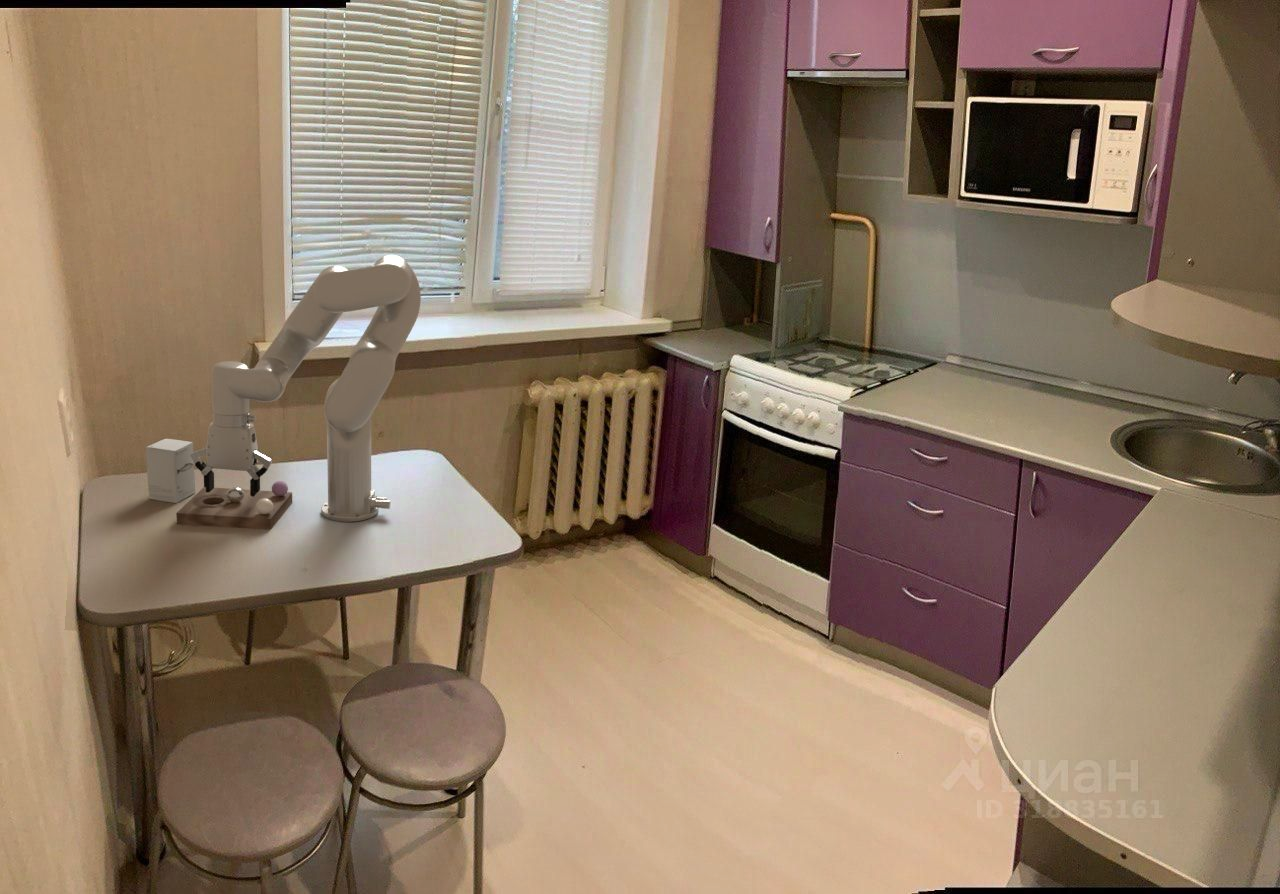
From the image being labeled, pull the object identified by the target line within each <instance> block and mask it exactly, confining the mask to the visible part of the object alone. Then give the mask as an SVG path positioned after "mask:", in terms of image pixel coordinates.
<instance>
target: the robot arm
mask: <svg viewBox="0 0 1280 894" xmlns="http://www.w3.org/2000/svg"><path fill="white" fill-rule="evenodd" d="M421 296H422V295H421V288H420V283H419V280H418V277H417V275H416V273H415V271H414V270H413V268H412V267H411V265H410V264H409V263H408V262H407V261H406V260H405V259H404V258H402V257H401V256H399V255H395V254H387V255H383V256H381V257H380V258H378V259H377V260H376V261H375V263H374V264H373V265H370V266H369V265H368V266H366V267H359V268H354V269H347V268H346V267H345V266H340V265H331V266H328V267H326V268H325V269H323V270H322V271H321V272H319V274H318V275H317V277H316V278H315V279H314V281H313V283H311V285H310V287H309V288H308V289H307V291H306V292H305V294H304V295H303V296H302V298H301V300H300V301H299V302H298V304H296V306H295V307H294V309H293V310H292V312H291V313H290V314H289V316H288V317H287V319H286V320H285V322H284V324H283V326H282V328H281V329H280V331H279V332H278V334H277V336H276V337H275V338H274V339H273V341H272V342H271V344H270V346H268V348H267V349H266V351H265V352H264V353H263V355H262V356H261V357H260V359H259V360H258V361H257V363H256V365H255V366H254V367H253V368H249V367H248V365H247V364H245V363H244V362H243V363H242V362H240V361H233V360H231V361H220V362H217V363H215V364H214V365H213V366H212V368H211V396H212V397H211V399H212V400H211V401H212V402H211V403H212V405H211V407H212V408H211V409H212V413H211V414H212V422H210V423H209V426H208V431H207V436H206V444H205V445H206V447H203V448H201V449H199V450H196V451H193V453H192V454H191V458H192V460H193V461H194V467H196V468H197V469H198V470H199V471H200V472H201V475H202V476H203V487H206V492H208V493H209V492H210V491H211V490H212V489H214V488H215V473H214V471H213V469H218V470H227V471H228V470H229V471H237V472H238V471H239V472H241V471H242V472H247V473H248V474H249V476H250V477H251V479H250V481H249V484H250V485H249V490H250V496H252V497H254V496H255V495H256V494H257V493H258V492H259V491H261V477H262V476H263V475H265V474H266V472H267V471H269V469H270V467H271V465H272V463H273V459H272V458H270V457H268V456H266V455H265V454H262V453H261V452H259V450H258V441H257V434H256V429H255V425H254V423H256V422H257V415H253V414H252V413H251V411H250V407H251V406H250V400H252V401H257V402H262V403H271V402H274V401H275V402H276V401H277V400H279V399H280V397H281V396H282V395H283V394H284V392H285V390H286V386H287V384H288V382H289V380H290V379H291V377H292V376H293V374H294V373H295V372H296V371H297V369H298V367H299V366H300V365H301V363H302V362H303V360H305V358H306V356H308V355H309V354H310V352H311V351H312V350H313V349H315V348H317V347H318V346H319V345H321V343H322V342H323V341H324V340H325V339H326V337H327V335H328V334H329V333H330V332H331V330H332V328H333V327H334V326H335V325H336V324H337V322H338V320H339V318H341V316H342V315H343V314H344V313H347V312H355V311H362V310H366V309H370V308H371V309H372V308H377V309H376V311H375V312H374V314H373V316H372V318H371V320H370V322H369V324H368V325H367V327H366V328H365V331H364V332H363V334H362V335H361V337H360V338H359V340H358V341H357V343H356V344H355V345H354V347H353V348H352V350H351V352H350V356H349V361H347V364H346V365H345V367H344V369H343V371H342V373H341V375H340V376H339V378H336V380H334V381H333V382H332V383H331V384H330V386H329V387H328V390H327V391H326V395H325V399H324V403H323V404H324V406H323V413H324V414H323V415H324V418H325V420H326V435H327V437H326V441H327V442H326V443H327V444H326V449H327V451H326V452H327V453H326V454H327V455H326V456H327V457H326V458H327V501H326V502H325V503H323V504H322V505H321V507H320V512H321V513H320V514H321V515H322V516H323V517H325V518H327V519H328V520H332V521H335V522H336V521H337V522H346V523H347V522H360V521H365V520H368V519H372V518H373V517H375V516H376V515H377V514H378V513H379V509H386V510H387V509H388V510H389V509H391V500H388V497H386V496H385V497H384V496H381V497H379V496H378V495H375V493H376V490H374V489H372V415H373V413H374V411H375V409H376V407H377V406H378V404H379V402H380V401H381V399H382V397H383V396H384V394H385V392H386V391H387V389H388V387H389V386H390V384H391V382H392V380H393V377H394V375H395V369H396V361H397V358H398V356H399V353H400V351H401V350H402V348H403V347H404V345H405V344H406V341H407V339H408V338H409V335H410V334H411V332H412V330H413V328H414V326H415V324H416V321H417V319H418V316H419V313H420V310H421V309H420V308H421ZM202 456H205V461H206V463H205V461H203V459H202V458H201V457H202ZM259 462H261V463H262V464H263V465H262V467H261V468H259V467H258V466H257V464H258V463H259Z"/></svg>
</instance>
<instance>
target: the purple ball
mask: <svg viewBox="0 0 1280 894" xmlns="http://www.w3.org/2000/svg"><path fill="white" fill-rule="evenodd" d="M271 491H272V492H273V494H275V495H276V496H283V495H285V494H286V493H287V492H288V491H289V486H288V484H287V483H286V482H285V481H282V480H277V481H275V482H274V483H273V484H272V486H271Z"/></svg>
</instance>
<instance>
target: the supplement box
mask: <svg viewBox="0 0 1280 894" xmlns="http://www.w3.org/2000/svg"><path fill="white" fill-rule="evenodd" d="M193 452H194V442H193V441H188V440H187V441H186V440H180V439H173V438H164V439H161V440H159V441H157V442H155V443H152V444H150V445H148V446H146V447H145V455H146V456H145V459H146V460H145V461H146V475H147V487H148V488H147V489H148V490H147V491H148V499H149V500H152V501H153V500H154V501H160V502H167V503H173V504H178V503H179V502H181V501H182V500H184V499H186V498H188V497H190V496H192V495H195V494H196V475H195V474H196V473H195V463H194V461H193V460H192V458H191V454H192V453H193Z"/></svg>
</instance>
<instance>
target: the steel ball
mask: <svg viewBox="0 0 1280 894" xmlns="http://www.w3.org/2000/svg"><path fill="white" fill-rule="evenodd" d="M229 489H230V490H229V491H228V494H227V496H228V499H229V500H230V501H231V502H233V503H239V502H241V501H242V500H243V498H244V492H243V490H242V488H241V487H238V486H237V487H231V488H229Z"/></svg>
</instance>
